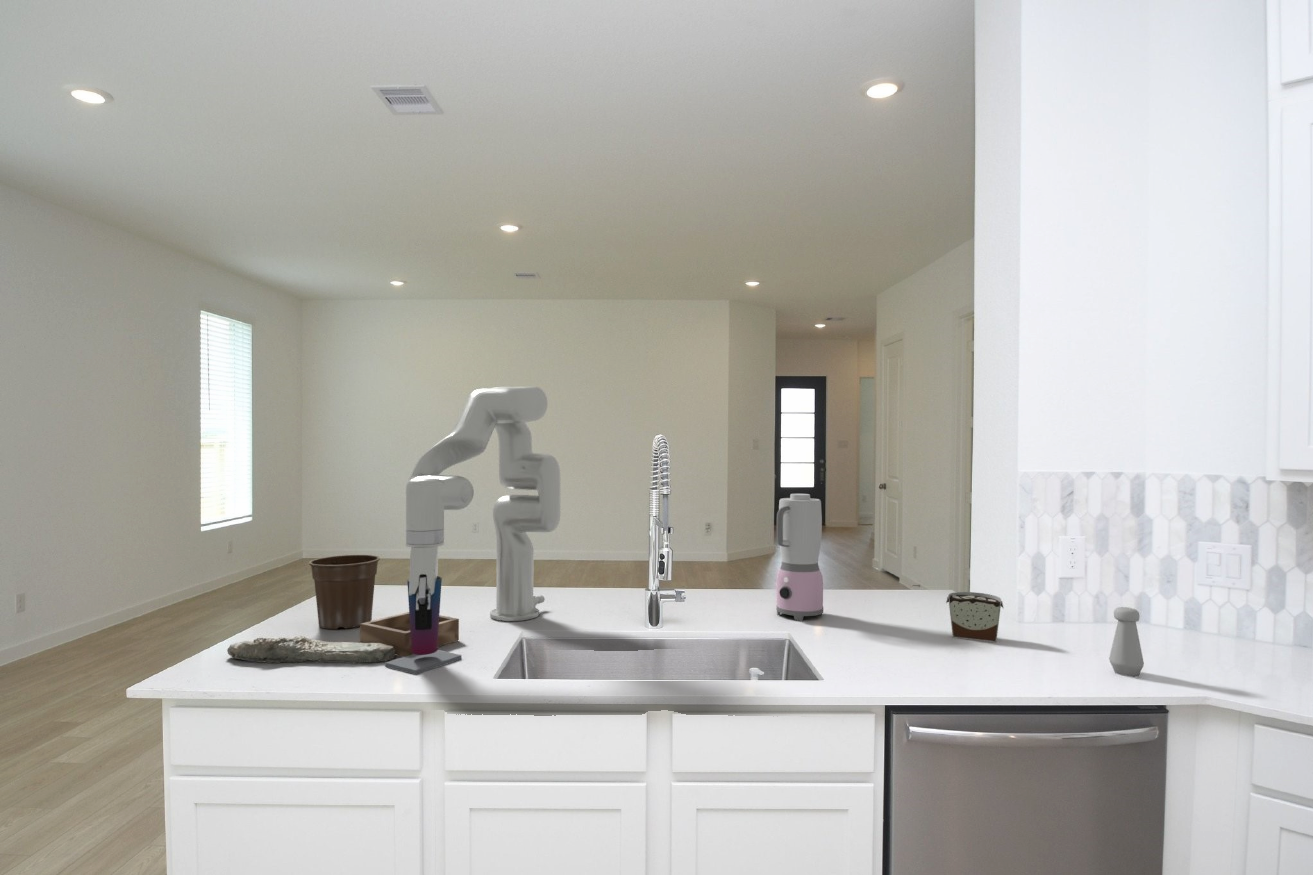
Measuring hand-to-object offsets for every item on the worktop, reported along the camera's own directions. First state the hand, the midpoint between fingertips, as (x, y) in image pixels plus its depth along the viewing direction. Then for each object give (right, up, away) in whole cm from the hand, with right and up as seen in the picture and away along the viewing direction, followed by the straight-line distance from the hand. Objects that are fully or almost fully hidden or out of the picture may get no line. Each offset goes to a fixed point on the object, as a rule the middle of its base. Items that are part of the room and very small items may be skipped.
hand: (424, 624), depth 151 cm
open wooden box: (-8, -8, +14) cm, 18 cm away
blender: (+85, -9, +41) cm, 95 cm away
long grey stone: (-25, -8, +3) cm, 26 cm away
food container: (+123, -9, +22) cm, 125 cm away
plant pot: (-30, -8, +31) cm, 44 cm away
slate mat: (0, -8, 0) cm, 8 cm away
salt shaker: (+142, -9, -5) cm, 142 cm away
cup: (0, -6, 0) cm, 6 cm away
